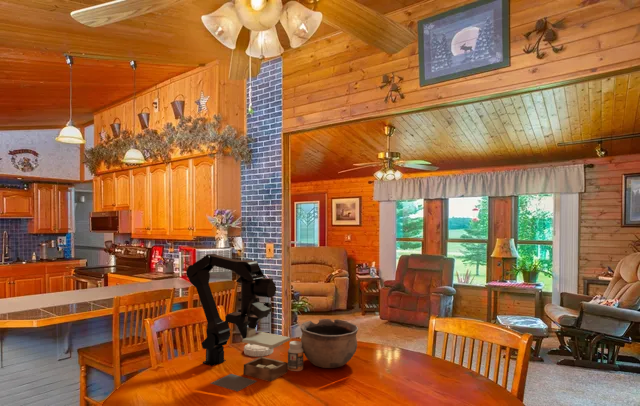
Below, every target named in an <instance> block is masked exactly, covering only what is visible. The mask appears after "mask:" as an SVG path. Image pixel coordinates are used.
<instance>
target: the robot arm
mask: <svg viewBox="0 0 640 406" xmlns="http://www.w3.org/2000/svg"><path fill="white" fill-rule="evenodd" d="M214 267H218V268H222V269H225V270H229V271H232V272H235V274H236V275H238V276H239V277H238V278H237V279H236V281H235V282H236V283H240V297H238V298H237V299H238V300H237V301H238V302H240V308H238V309H237V312H235V311H234V312H230V313H227V314H226V315H225V318H224V319H225V320H223V319H222V318H221V316H220V314H219V311H218V307H217V305H216V301H215V298H214V295H213V292H212V289H211V287H210V278H211V274H210V272H211V271H212V270H213V269H214ZM185 274H186V276H187V278H188V281H189V282H190V283H191V285H192V286H193V287H195V289H196V292H197V294H198V298H199V301H200V303H201V307H202V309H203V310H202V311H203V313H204V315H205V319H206V323H207V325H206V336H207V337H206V338H205V339H204V340H203V341H201V347H202V349H204V350H205V360H204V361H202V364H204V365H208V366H212V367H213V366H217V365H221V364H222V363H224V362H225V351H224V346H225V345H227V344H228V341H229V339H230V338H231V331H232V330H231V328H230V326H229V325H230V324H234V325H235V326H236V327H237V329H238V331H239V333H240V336H241V335H242V338H241V339H244V338H246V335H247V327H249V328H254V329H256V328H257V325H258V323H259V322H260V321H261V320H262V319H264V318H267V317H268V316H269V315H271V313H272V303H271V302H270V301H267V302H266V301H265V302H264V303H263V302H262V303H261V302H260V298H259V297H262V298H270V299H271V298H273V297H275V295H276V294H277V293H276V292H277V286H276V282H274V278H272V277H269V278H266V276H265V274H264V273H263V271H262V269H261V267H260V264H259V261H257V260H251V259H249V260H248V259H246V260H245V259H244V260H243V259H241V260H239V259H235V258H231V257H227V256H222V255H218V254H216V253H209V254H205V255H204V256H203V257H202V258H201V259H199V260H197V261H195V262H194V263H192V264H190V265H189V266H188V267H187V269H186V273H185ZM256 330H257V329H256Z"/></svg>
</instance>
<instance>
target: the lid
mask: <svg viewBox="0 0 640 406" xmlns="http://www.w3.org/2000/svg"><path fill="white" fill-rule="evenodd" d="M256 331H257V329H254V328H249V327H248V326H247V335H246V338H244V339H243V338H242V335H241V334H240V339H242V341H241V343H245V344H248V343H249V344H250V345H253V344H254V345H259V346H263V347H268V348H269V349H273V350H274V349H275V348H277V347H279V346H281V345H282V346H283V344H285V343H287V342H290V341H291V337H290V336H285V335H281V334H280V335H279V334H274V333H270V332H269V333H268V332H263V331H261V332H258V333H257V332H256Z"/></svg>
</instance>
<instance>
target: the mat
mask: <svg viewBox="0 0 640 406" xmlns="http://www.w3.org/2000/svg"><path fill="white" fill-rule="evenodd" d="M257 382H258V380H255V379H251V378H248V377H244V376H240V375H237V374H233V373H229V374H227V375H225V376H223V377H221V378H219V379H217V380H215V381H214V380H213V381H212V382H210V384H211V385H215V386H218V387H221V388H224V389H227V390H232V391H235V392H239V391H242V390H243V389H245V388H247V387H249V386H251V385H253V384H255V383H257Z"/></svg>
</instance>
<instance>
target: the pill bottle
mask: <svg viewBox="0 0 640 406" xmlns="http://www.w3.org/2000/svg"><path fill="white" fill-rule="evenodd" d="M301 347H302V342H301V340H290V341H289V348H288V349H287V363H288V370H289V371H292V372H300V371H302V370H303V369H304V353H303V349H302V348H301Z"/></svg>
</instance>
